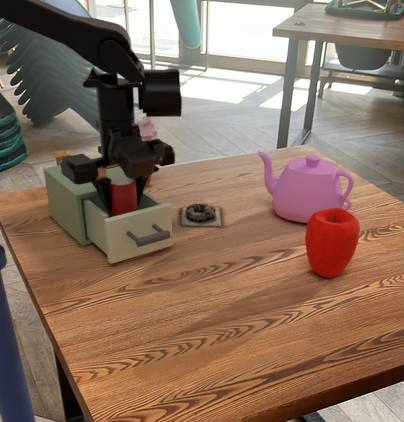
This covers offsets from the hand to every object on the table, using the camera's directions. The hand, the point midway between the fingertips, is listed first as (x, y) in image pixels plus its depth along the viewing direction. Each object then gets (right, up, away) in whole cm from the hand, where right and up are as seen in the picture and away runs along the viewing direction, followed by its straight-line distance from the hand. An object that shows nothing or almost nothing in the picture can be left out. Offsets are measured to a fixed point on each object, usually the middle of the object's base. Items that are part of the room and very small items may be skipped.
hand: (122, 209), depth 100 cm
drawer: (+1, -6, +3) cm, 6 cm away
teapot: (+34, +3, +17) cm, 38 cm away
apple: (+35, -11, -1) cm, 37 cm away
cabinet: (-6, +1, +12) cm, 13 cm away
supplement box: (-14, +7, +19) cm, 24 cm away
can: (0, -1, +1) cm, 1 cm away
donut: (+14, +2, +14) cm, 20 cm away
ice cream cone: (+1, +11, +25) cm, 28 cm away
